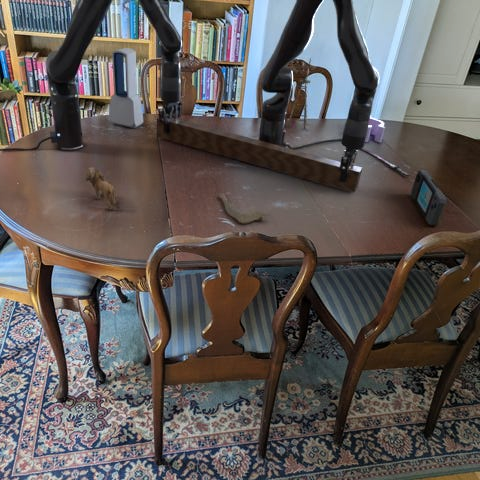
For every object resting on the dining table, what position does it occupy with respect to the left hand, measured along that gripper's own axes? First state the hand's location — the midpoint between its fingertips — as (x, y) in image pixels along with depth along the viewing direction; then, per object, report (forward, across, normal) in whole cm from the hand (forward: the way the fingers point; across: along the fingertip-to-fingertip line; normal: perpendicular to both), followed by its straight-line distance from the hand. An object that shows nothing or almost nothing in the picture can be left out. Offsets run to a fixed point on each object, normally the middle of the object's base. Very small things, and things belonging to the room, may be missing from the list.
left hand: (170, 130), depth 185 cm
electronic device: (+4, -4, -24) cm, 25 cm away
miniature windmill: (+4, -54, +35) cm, 64 cm away
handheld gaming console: (+4, -1, +99) cm, 99 cm away
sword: (+4, -35, +78) cm, 86 cm away
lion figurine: (+4, +54, +12) cm, 56 cm away
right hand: (0, 0, +72) cm, 72 cm away
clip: (+4, -64, +65) cm, 91 cm away
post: (+3, 0, +36) cm, 36 cm away
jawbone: (+4, +34, +49) cm, 59 cm away
